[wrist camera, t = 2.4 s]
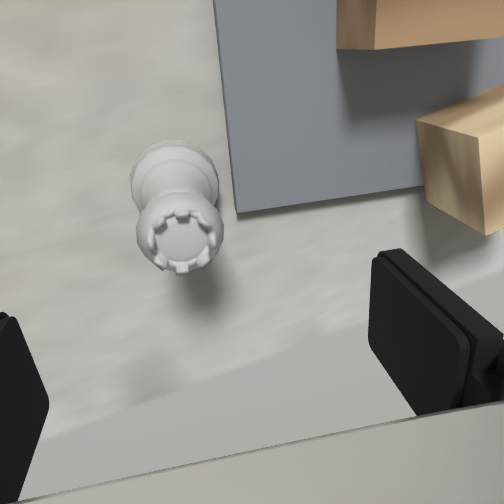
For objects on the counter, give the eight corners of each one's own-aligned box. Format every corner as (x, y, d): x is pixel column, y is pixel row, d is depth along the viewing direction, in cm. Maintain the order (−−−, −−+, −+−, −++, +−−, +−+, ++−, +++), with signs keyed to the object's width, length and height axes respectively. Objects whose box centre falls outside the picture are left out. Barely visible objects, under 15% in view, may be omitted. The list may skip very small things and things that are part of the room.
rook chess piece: (232, 191, 23) (265, 256, 16) (164, 235, 23) (167, 317, 16) (186, 119, 21) (199, 157, 13) (112, 168, 21) (87, 230, 14)
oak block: (414, 119, 22) (478, 137, 18) (500, 83, 22) (585, 93, 18) (426, 201, 24) (485, 235, 20) (504, 169, 24) (579, 196, 20)
